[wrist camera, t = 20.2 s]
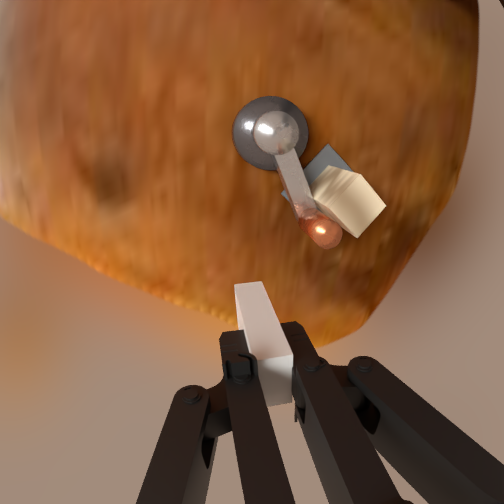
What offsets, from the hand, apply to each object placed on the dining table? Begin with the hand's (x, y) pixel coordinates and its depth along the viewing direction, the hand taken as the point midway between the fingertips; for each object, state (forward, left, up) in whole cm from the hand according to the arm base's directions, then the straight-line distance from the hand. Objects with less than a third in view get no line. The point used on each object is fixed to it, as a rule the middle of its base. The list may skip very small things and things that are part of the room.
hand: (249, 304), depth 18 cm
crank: (-9, +3, -22) cm, 24 cm away
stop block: (-11, +9, -24) cm, 28 cm away
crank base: (-11, -2, -24) cm, 27 cm away
